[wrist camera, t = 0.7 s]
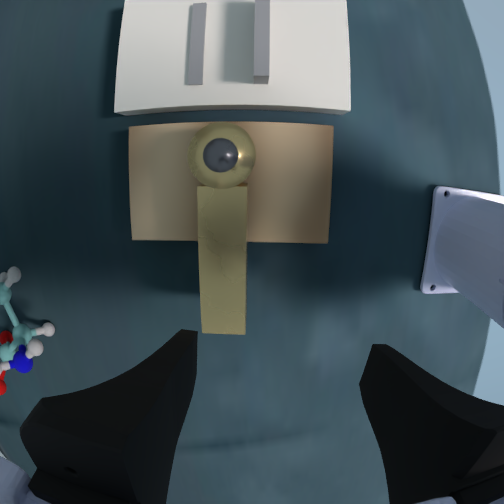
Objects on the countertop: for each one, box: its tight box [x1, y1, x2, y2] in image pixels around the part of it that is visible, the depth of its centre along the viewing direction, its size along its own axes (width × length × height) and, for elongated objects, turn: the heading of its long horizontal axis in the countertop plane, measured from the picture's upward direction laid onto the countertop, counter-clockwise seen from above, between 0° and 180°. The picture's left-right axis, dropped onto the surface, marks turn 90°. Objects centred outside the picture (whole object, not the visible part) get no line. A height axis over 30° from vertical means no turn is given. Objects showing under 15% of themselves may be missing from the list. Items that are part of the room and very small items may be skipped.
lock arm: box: [187, 122, 256, 335], centre depth 17 cm, size 11×3×4 cm, turn 179°
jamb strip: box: [129, 122, 333, 244], centre depth 19 cm, size 12×7×2 cm, turn 89°
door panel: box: [114, 0, 351, 116], centre depth 16 cm, size 14×8×4 cm, turn 89°
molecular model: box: [0, 267, 55, 395], centre depth 20 cm, size 12×10×10 cm
